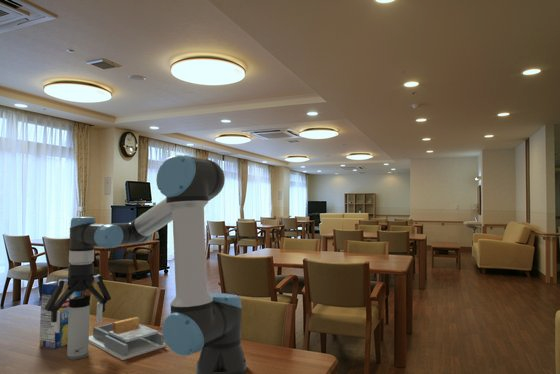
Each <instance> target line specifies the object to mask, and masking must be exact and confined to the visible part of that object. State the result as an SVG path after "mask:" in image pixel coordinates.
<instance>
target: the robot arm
mask: <svg viewBox="0 0 560 374" xmlns="http://www.w3.org/2000/svg"><path fill="white" fill-rule="evenodd" d="M225 178H226V177H225V173H224V170H223V169H222V167H221V166H220V165H219V163H217V162H216V161H213V160H211V159H207V158H206V159H205V158H200V157H194V156H190V155H186V154H185V155H179V154H177V155H171V156H168V157H167V158H166V159H165V160H164V161H163V162H162V164H161V165H160V166H159V168H158V171H157V173H156V178H155V179H156V186H157V189H158V190H159V191H160V194H162V195H163V196H165V198H164V199H163V200H161V201H159V202H158V203H156V204H155V205H154V206H152V207H151V208H149V209H148V210H147V211H145V212H143V213H142V214H140V215H139V216H138V217H137V218H135V219H134V220H132V221H130V222H121V223H120V222H119V223H96V218H95V217H93V216H73V217H72V218H71V219H70V227H69V245H68V246H69V247H68V248H69V251H68V253H69V254H68V262H69V264H68V267H67V268H68V269H67V270H68V272H67V278H66V279H67V280H62V279H60V278H59V279H57V280H56V281H57V286H56V288H55V290H54V292H53V294H52V295H51V297H50V299H49V301H48V303H47V305H46V306H45V310H47V311H51V321H52V322H54V332H56V333H59V330H60V311H58V310H59V309H60V307H61V306H62V305H63V304H64V303H65V301H66V300H67V299H68V298H69V296H70V295H71V294H73V293H74V291H75V292H79V291H81V292H82V291H83V292H85V291H87V290H88V291H89V292H90V293H91V294H92V295H93V297H94V298H95V299H97V301H98V302H96V316H95V319H96V323H98V324H102V323H103V313H105V311H106V304H107V303H108V301H111V300H112V299H111V298H112V297H111V295H110V293H109V291H108V289H107V286H106V285H105V282H104V278H103V277H104V276H103V275H101V274H96V275H94V268H95V267H94V264H95V263H93V262H94V261H95V247H97V248H103V249H114V248H117V247H119V246H127V245H140V244H143V243H147V242H149V241H150V240H151V238H152V236H153V234H154V233H155V232H157V231H158V230H160V229H162V228H164V227H165V226H167V225H168V224H169V223H172V233H173V237H172V238H173V262H174V282H175V284H174V286H175V297H174V298H173V299H172V300H171V302H170V314H168V315H167V316H166V317H165V319H164V321H163V322H162V328H161V332H162V334H163V338H164V343H165V345H166V346H167V347H168V348H169V349H170V350H171V351H172V352H173V353H174V354H177V355H178V356H183V357H185V356H190V355H193V354H196V353H199V352H200V354H199V358H198V360H197V362H196V366H195V367H196V370H195V371H196V374H245V373H246V372H245V371H247V360H246V358H245V353H244V350H243V347H242V309H243V307H242V299H241V297H240V296H239V295H236V294H233V293H223V292H222V293H221V292H220V293H219V292H217V293H216V292H213V293H208V281H207V279H208V278H207V260H206V241H205V240H206V239H205V236H206V235H205V221H204V220H205V218H204V217H205V216H204V215H205V214H204V208H205V207H206V205H207V204H208V203H209V201H211V200H213V199H214V198H216V196H218V195H219V194H220V193H221V192H222V189H223V188H224V186H225V181H226V180H225ZM94 281H95V282H96V284H97V286H98V288H99V290H100V292H101V294H102V295H101V294H100V293H99V292H98V290H97V289H96V288H95V287H94V285H93V283H94ZM66 284H68V288H67V289H66V290H65V292H64V293H63V295H62V296H61V297H60V298H59V299H58V297H59V295H60V293H61V291H62V289H63V287H64V286H65V285H66ZM57 299H58V301H57ZM56 301H57V302H56Z"/></svg>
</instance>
